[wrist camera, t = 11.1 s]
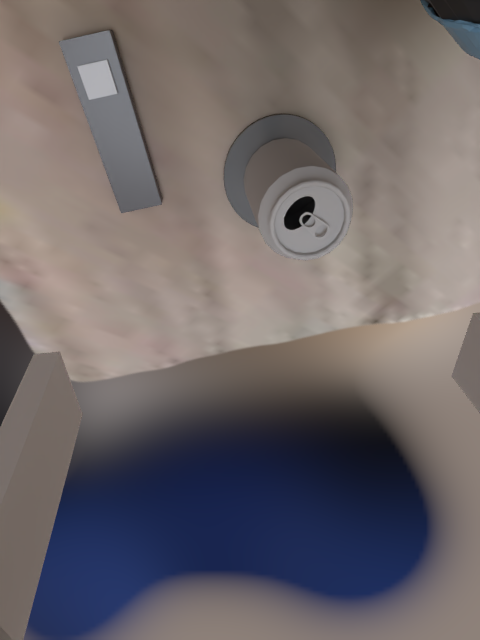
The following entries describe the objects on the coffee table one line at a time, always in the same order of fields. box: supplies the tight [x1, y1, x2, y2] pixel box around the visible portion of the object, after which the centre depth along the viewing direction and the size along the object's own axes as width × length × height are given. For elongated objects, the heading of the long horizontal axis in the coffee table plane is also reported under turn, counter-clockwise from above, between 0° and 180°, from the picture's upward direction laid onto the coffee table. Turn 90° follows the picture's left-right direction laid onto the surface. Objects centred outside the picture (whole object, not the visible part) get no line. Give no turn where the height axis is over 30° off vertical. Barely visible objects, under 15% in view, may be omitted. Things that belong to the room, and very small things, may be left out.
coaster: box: [224, 114, 336, 227], centre depth 41 cm, size 11×11×1 cm
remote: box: [59, 30, 162, 213], centre depth 37 cm, size 14×4×2 cm, turn 11°
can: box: [244, 138, 353, 260], centre depth 36 cm, size 8×8×12 cm
